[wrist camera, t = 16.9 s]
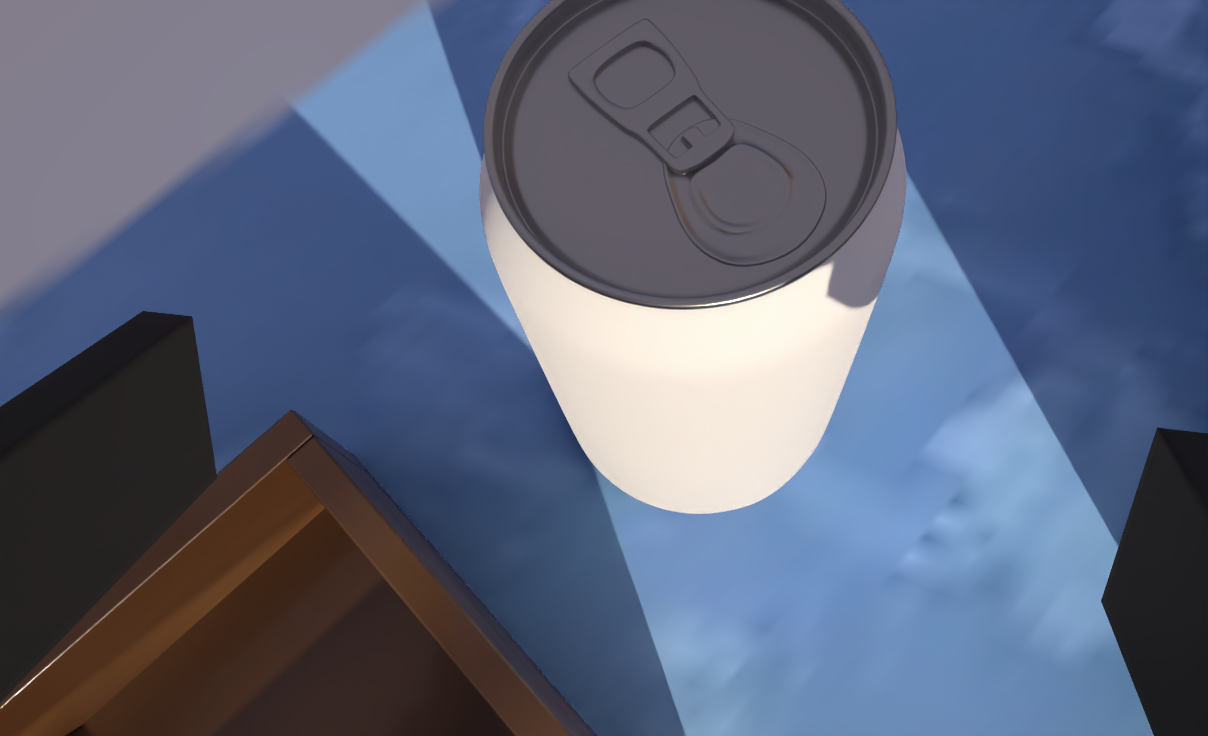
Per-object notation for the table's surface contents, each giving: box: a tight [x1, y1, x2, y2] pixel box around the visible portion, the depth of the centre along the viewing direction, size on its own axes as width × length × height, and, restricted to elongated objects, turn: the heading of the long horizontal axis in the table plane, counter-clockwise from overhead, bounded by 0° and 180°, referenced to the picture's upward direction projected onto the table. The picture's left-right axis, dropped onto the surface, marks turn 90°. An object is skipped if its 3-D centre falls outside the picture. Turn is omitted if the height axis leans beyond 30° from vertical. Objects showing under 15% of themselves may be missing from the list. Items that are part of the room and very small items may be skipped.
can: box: [480, 0, 906, 514], centre depth 20 cm, size 6×6×12 cm
